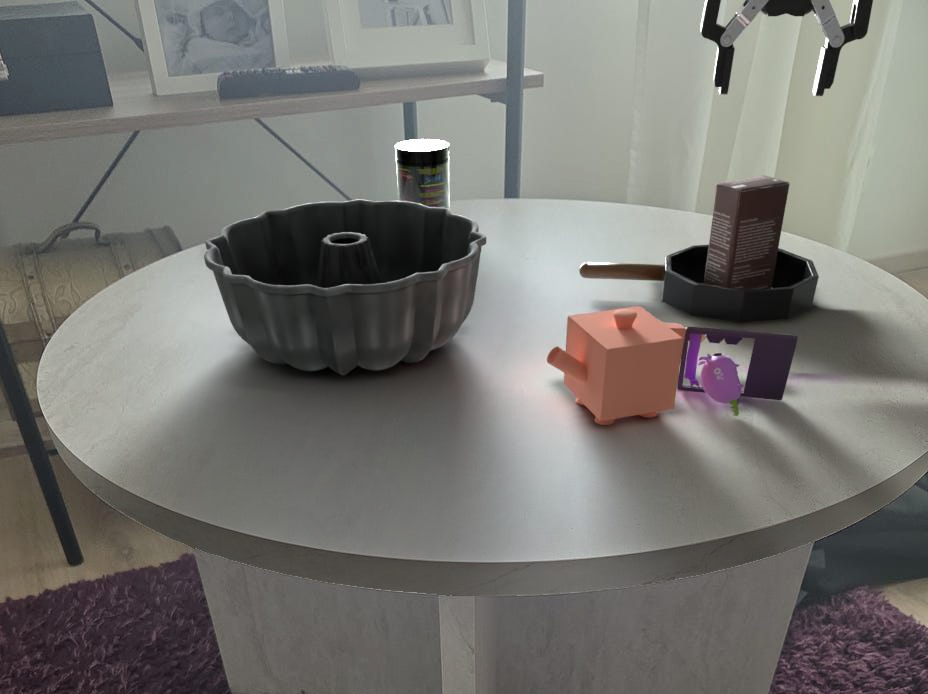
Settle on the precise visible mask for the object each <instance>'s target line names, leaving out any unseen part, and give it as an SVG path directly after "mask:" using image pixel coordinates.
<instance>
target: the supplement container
mask: <svg viewBox="0 0 928 694" xmlns="http://www.w3.org/2000/svg"><path fill="white" fill-rule="evenodd" d="M394 150H395V152H394V153H395V165H396V184H397V186H396V187H397V201H407V202H414V203H419V204H422V205H425V206H428V207H434V208H448V209H450V210H451V202H450V143H449V142H447V141H445V140H440V139H430V138H429V139H428V138H427V139H424V138H421V139H419V138H418V139H409V140H403V141H400V142H397V143H396V144H395V145H394Z"/></svg>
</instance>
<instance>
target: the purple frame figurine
mask: <svg viewBox="0 0 928 694" xmlns="http://www.w3.org/2000/svg"><path fill="white" fill-rule="evenodd" d="M685 328H686V333H685V339H684V344H683V350H682V356H681V362H680V367H679V374H678V381H677V388H676V390H678V391H684V392H693V393H703V394H704V393H705V394H706V395H707V396H708V397H709V398H710V399H711V400H713V401H714V402H717V403H721V404H730V408H732V409H731V413H732V412H733V414H732V416H734V417H738V416H739V414H740V411H739V406H738V402H737V400H738V399H739V398H740V397H745V398H755V399H765V400H775V401H781V400H783V398H784V394H785V390H786V387H787V383H788V379H789V375H790V370H791V367H792V365H793V364H792V363H793V360H794V356H795V352H796V348H797V345H798V342H799V336H798V335H796V334H784V333H775V332H774V333H772V332H762V331H761V332H760V331H749V330H738V329H724V328H714V327H713V328H712V327H702V326H701V327H700V326H690V325H688V326H685ZM706 338H707V341H708V343H709V344H718V345H719V344H720V343H721V342H723V340H724V342H725V344H726V345H729V346H730V345H732V346H737V345H739V343H740V342H741V341H742V340H743V339H751V340H754V342H753V346H752V352H751V355H750V360H749V365H748V370H747V374H746V379H745V383H744V384H743V383H741V382H740V378H739V371H738V367H740V365H741V364H739V363H735V361H734V360H733V359H732V358H731V357H729V356H727V355H723V353H722V352H721V353H720V352H718V353H713V356H711V353H706V356H700V357H699V352H700V348H701V343H702V342H703V341H704V340H706ZM698 357H699V359H698ZM698 361H700V362H699V363H698ZM702 365H703V367H702V369H701V372H700V379H699V380H700V383H699V380H698V379H697V378H696V375H697V366H702ZM684 378H685V379H687V380H689V383H690V385H684ZM694 385H695V386H694ZM700 385H701V386H700ZM742 388H743V390H742Z"/></svg>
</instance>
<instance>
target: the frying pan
mask: <svg viewBox="0 0 928 694" xmlns="http://www.w3.org/2000/svg"><path fill="white" fill-rule="evenodd" d="M708 248H709V244H697V245H691V246H688V247H685V248H683V249H680V250H678V251H675V252H673V253H670V254H667V255H666V256H664V257H665V258H664V263H663V264H656V263H655V264H653V263H652V264H651V263H624V262H623V263H622V262H592V261H586V262H583V263H582V264H581V265H580V267H579V269H578V272H579V275H580V277H582V278H583V279H595V280H596V279H599V280H622V281H623V280H624V281H625V280H626V281H647V282H648V281H649V282H650V281H651V282H661V288H660V303H662V304H663V303H664V304H668V305H669V306H671V307H673V308H675V309H678V310H679V311H682V312H683V313H685V314H687V315H689V316H692V317H699V318H705V319H711V320H718V321H725V322H730V323H738V324H744V323H745V324H747V323H757V322H758V323H759V322H760V323H761V322H771V321H785V320H789V319H791V318H794V317H795V316H796V315H798V314H800V313H803V312H804V311H806V310H808V309H812V307H813V304H814V299H815V294H816V290H817V286H818V282H819V278H820V277H819V273H818V271H817V269H816V266H815V263H814V261H813V260H812V259H808V258H806V257H803V256H801V255H798V254H795V253H793V252H790V251H788V250H785V249H782V248H779V247H778V252H777V258H776V264H775V270H774V275H773V281H772V287H771V288H767V289H753V290H741V289H734V288H727V287H720V286H713V285H706V284H704V279H705V271H706V263H707V256H708Z"/></svg>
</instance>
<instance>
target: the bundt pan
mask: <svg viewBox="0 0 928 694" xmlns="http://www.w3.org/2000/svg"><path fill="white" fill-rule="evenodd" d="M479 229H480V227H479V223H477V222H476V220H474V219H472V218H470V217H467V216H465V215H460V214H455V213H453V212H452V211H451V208H450V209H448V208H434V207H428V206H425V205H422V204H419V203H414V202H407V201H398V200H379V201H376V200H375V201H373V200H369V199H362V198H357V199H353V200H352V199H351V200H346V201H318V202H317V201H315V202H308V203H303V204H298V205H293V206H290V207H287V208H285V209H274V210H272V209H271V210H265V211H263V212H261V213H260V214H258V215H257V216H254V217H250V218H249V217H248V218H245V219H241V220H238V221H237V220H236V221H235V222H232V223H230V224H228V225H226V226H224V227H223V228H222V229H221V230H220V232H219V234H218V235H217V236H215V237H212V238H209V239H207V240H205V242H204V243H205V247H206V251H205V252H204V255H203V259H204V263H205V267H207V268H208V269H209V270H210V271H212V273H213V276H214V279H215V281H216V284H217V287H218V290H219V293H220V297H221V299H222V301H223V305H224V307H225V310H226V313H227V315H228V319H229V321H230V323H231V326H232V327H233V329H234V331H235V333H236V334H237V335H238V336H239V337H240V338H241V339H242V340H243V341H244V342H245V343H246V344H248V345H249V346H251V348H252V349H253V350H254V352H255V353H256V354H257V355H258V356H259V357H260V358H262V359H263V360H265V361H267V362H268V363H272V364H276V365H289V366H291V367H292V368H293V369H294V368H295V369H297V370H299V371H305V372H316V371H321V370H325V369H326V368H329V369H331V370H332V371H334V372H335V373H337V374H338V375H340V376H346V375H348V374H349V373H350V372H351V371H352V370H354V369H355V368H357V367H360V368H362V369H364V370H367V371H368V370H369V371H383V370H387V369H390V368H391V367H394V366H395V365H397V364H398V363H399V362H400V361H401V362H405V363H407V364H415V363H418V362H421V361H423V360H424V359H425V358H426V357H428V355H429V354H430V352H431V351H433V350H436V349H439V348H441V347H443V346H445V345H446V344H447V343H449V342H450V341H451V340H452V339H453V338H455V336H456V334H457V333H458V332H459V330H460V329H461V326H462V325H463V324H464V322H465V321H466V320H467V318H468V316H469V314H470V313H471V310H472V308H473V305H474V301H475V295H476V289H477V288H476V287H477V282H478V274H479V268H480V261H481V252H482V247H483V246H485V245H486V244H487V235H485V234H482V233H480V232H479Z"/></svg>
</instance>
